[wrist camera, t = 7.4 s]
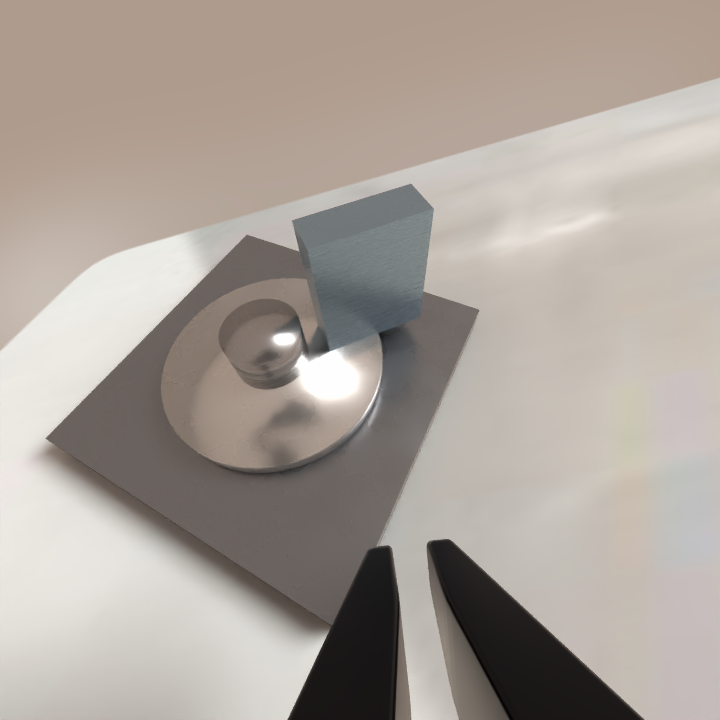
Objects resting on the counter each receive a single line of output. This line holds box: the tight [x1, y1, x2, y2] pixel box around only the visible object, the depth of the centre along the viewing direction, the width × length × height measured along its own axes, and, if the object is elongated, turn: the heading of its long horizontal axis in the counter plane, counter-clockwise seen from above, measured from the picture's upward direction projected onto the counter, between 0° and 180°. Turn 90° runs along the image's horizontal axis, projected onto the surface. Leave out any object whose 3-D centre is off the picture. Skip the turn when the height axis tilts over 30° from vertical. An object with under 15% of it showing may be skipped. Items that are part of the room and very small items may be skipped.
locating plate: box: [46, 235, 479, 626], centre depth 20 cm, size 18×18×6 cm
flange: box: [161, 184, 434, 473], centre depth 18 cm, size 14×12×8 cm
